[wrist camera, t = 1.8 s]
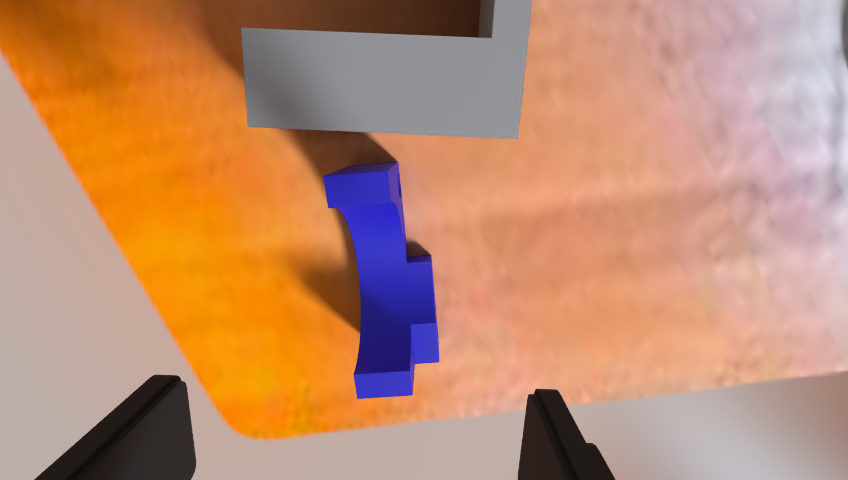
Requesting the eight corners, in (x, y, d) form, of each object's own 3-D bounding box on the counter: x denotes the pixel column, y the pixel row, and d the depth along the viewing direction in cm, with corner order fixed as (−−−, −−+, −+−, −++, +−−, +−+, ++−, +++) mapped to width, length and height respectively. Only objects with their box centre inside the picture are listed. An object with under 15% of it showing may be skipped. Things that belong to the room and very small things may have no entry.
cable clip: (438, 337, 27) (440, 393, 21) (373, 342, 27) (357, 398, 21) (423, 159, 24) (420, 167, 18) (349, 166, 24) (323, 176, 18)
